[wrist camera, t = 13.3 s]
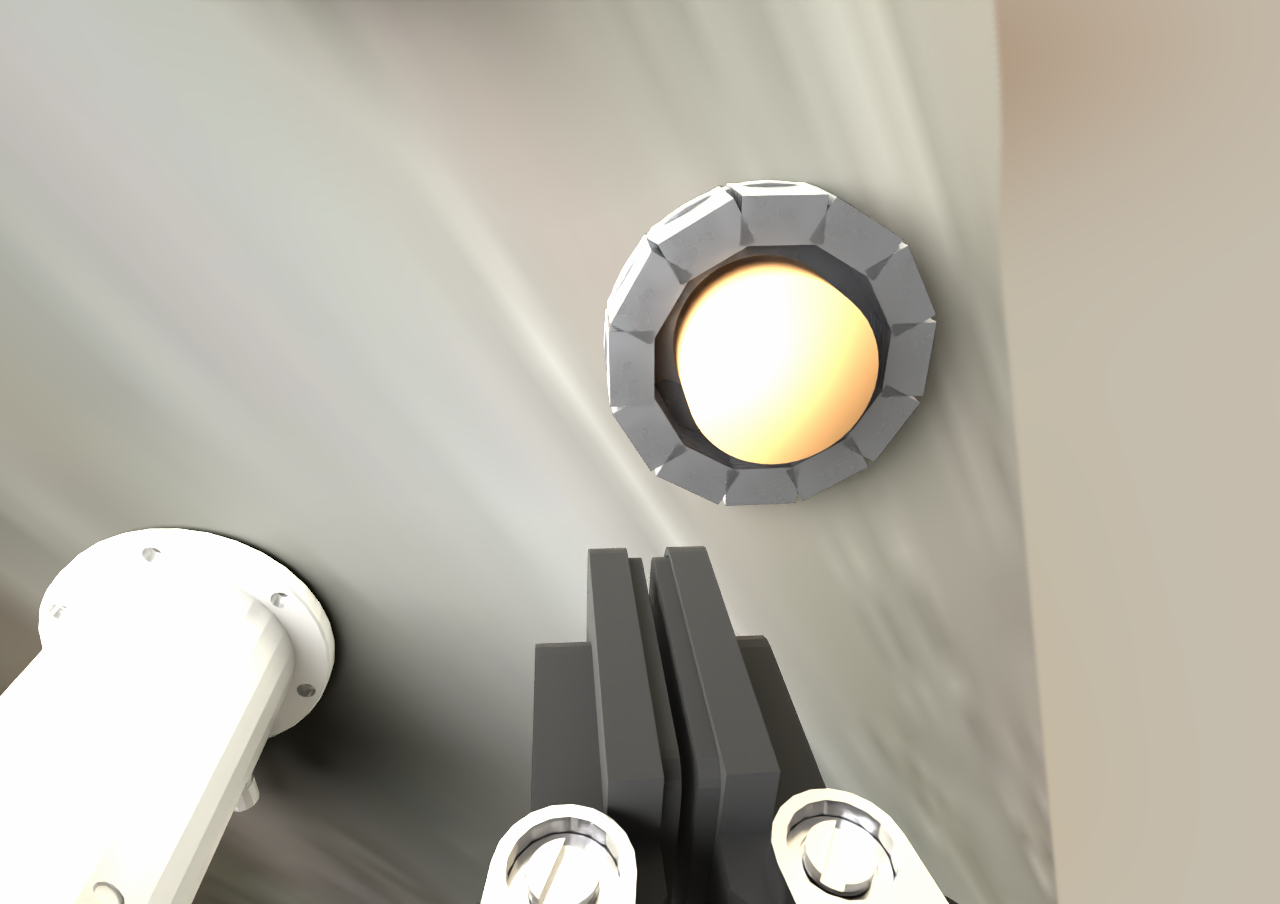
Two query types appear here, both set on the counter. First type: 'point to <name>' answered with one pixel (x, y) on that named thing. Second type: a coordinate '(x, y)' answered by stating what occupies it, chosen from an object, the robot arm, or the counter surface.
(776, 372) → the pale yellow rounded lump
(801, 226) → the faceted metal bowl
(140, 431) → the counter surface
